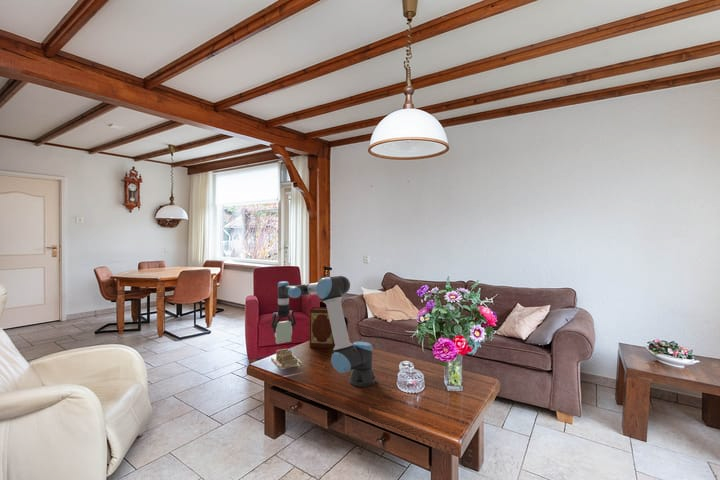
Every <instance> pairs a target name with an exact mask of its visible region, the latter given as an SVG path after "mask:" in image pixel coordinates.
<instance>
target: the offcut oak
mask: <svg viewBox="0 0 720 480" xmlns="http://www.w3.org/2000/svg"><path fill="white" fill-rule="evenodd" d="M292 354H293V351H291V350H289V349H288V351H284V352H280V357H281V358H286V357H291V356H292Z"/></svg>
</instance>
